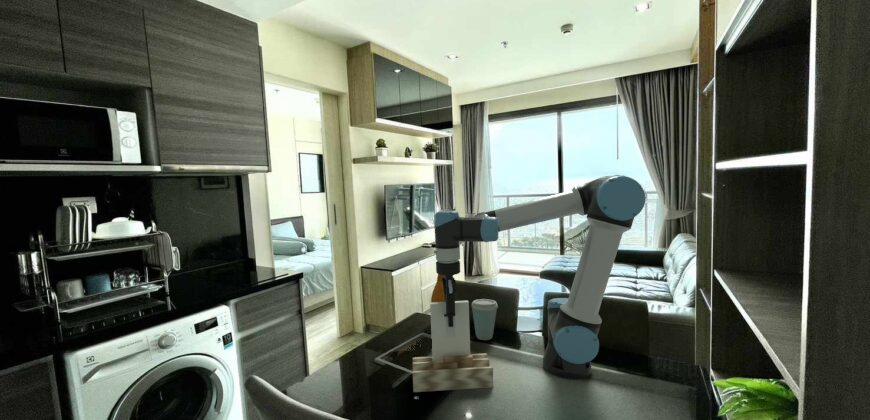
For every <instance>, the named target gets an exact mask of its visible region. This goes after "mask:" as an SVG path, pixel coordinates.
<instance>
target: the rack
mask: <svg viewBox="0 0 870 420" xmlns="http://www.w3.org/2000/svg"><path fill="white" fill-rule="evenodd" d="M470 355H472V356H473V368H458V369H441V370H434V363H443V361H432V356H417V357H416V356H415V357H412V371H413V374H412V389H413V393H421V392H437V391H438V392H439V391H453V390H467V389H468V390H469V389H472V390H473V389H487V388H494V367H493V366H490V358H489V357H488V353H470Z"/></svg>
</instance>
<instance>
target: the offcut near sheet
mask: <svg viewBox="0 0 870 420" xmlns="http://www.w3.org/2000/svg"><path fill="white" fill-rule="evenodd" d="M448 362H457V365H458V368H473V356H472V355H459V356H443V363H448Z"/></svg>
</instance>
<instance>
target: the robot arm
mask: <svg viewBox="0 0 870 420" xmlns="http://www.w3.org/2000/svg"><path fill="white" fill-rule="evenodd" d="M645 204H646V193H645V190H644V188H643V187H642V184H641V183H640V182H638V181H637V180H636V179H634V178H632V177H630V176H627V175H621V174H615V175H607V176H600V177H598V178H596V179H593V180H591V181H588V182H585V183H583V184H580V185H575V186H573V188H572V189H571V190H568V191H565V192H560V193H556V194H553V195H548V196H544V197H541V198H536V199H533V200H529V201H525V202H521V203H517V204H513V205H512V204H511V205H509V206H505V207H501V208H497V209H494V210H490V211H489V210H488V211H486V212H485V211H482V212H479V213H477V214H475V215H474V216H472V217H471V216H470V217H469V216H467V217H466V216H465V217H463V216H460V215H459V212H458V211H457V210H440V211H437V212H435V214H434V226H433V228H434V240H435V242H434V243H435V245H434V246H435V250H433V254H435V259H436V262H435V273H436V274H437V275H438V274H439V275H444V277H443V278H442V284H443V291H444V302H446V314H444V317H446V336H455V301H456V285H457V284H456V283H457V282H456V278H455V277H454V276H455V275H458V274H460V272H461V261H460V259H461V250H460V249H461V246H460V243H463V242H464V243H465V242H471V243H489V242H492V243H493V242H497V241H498V240H499V233H500V232H504V231H505V232H506V231H508V230H513V229H517V228H521V227H527V226H530V225H534V224H538V223H543V222H547V221H551V220H556V219H560V218H561V219H562V218H564V217H569V216H572V215H579V216H582V217H583V216H586V219H587V221H588V223H589V227H588V231H587V235H586V238H585V242H584V244H583V245H584V246H583V248H582V251H581V255H580V258H579V262H578V265H577V268H576V271H575V272H576V273H575V275H574V278H573V281H572V284H571V288H570V292H569V296H568V297H555V298H552V299H549V300H548V302H547V344H546V345H547V346H546V348H545V350H544V353H543V356H542V367H543V369H544V370H545V371H546V372H548V373H549V374H551V376H555V377H558V378H561V379H567V380H581V379H585V378H588V377H589V376H590V375H591V373H592V363H591V361H593V360H594V359H595V358H596V356H597V355H598V353H599V352H600V351H599V349H600V340H599V338H598V334H599V332H600V328H601V325H602V321H603V319H602V318H601V316H600V314H599V312H600V308H601V305H602V302H603V299H604V295H605V292H606V289H607V285H608V283H609V280H610V276H611V274H612V273H611V272H612V270H613V266H614V263H615V261H616V260H615V259H616V256H617V252H618V250H619V247H620V243H621V240H622V237H623V235H624V233H625V232H629V230H632V226H633V223H634V220H635V218H636V217H637V216H638V215H639V214H640V213H641V212H642V210H643V209H644V207H645Z"/></svg>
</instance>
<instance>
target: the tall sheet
mask: <svg viewBox="0 0 870 420" xmlns="http://www.w3.org/2000/svg"><path fill="white" fill-rule="evenodd" d="M469 304H470V302H469V300H455V336H446V317H444V314H446V302H432V303H431V302H430V303H429V306H430V307H429V308H430V309H429V310H430V330H431V331H430V333H431V334H430V335H431V339H432V349H431V357H432V361H443V356H459V355H470V354H471V337H470V336H471V334H470V333H471V331H470V305H469Z"/></svg>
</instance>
